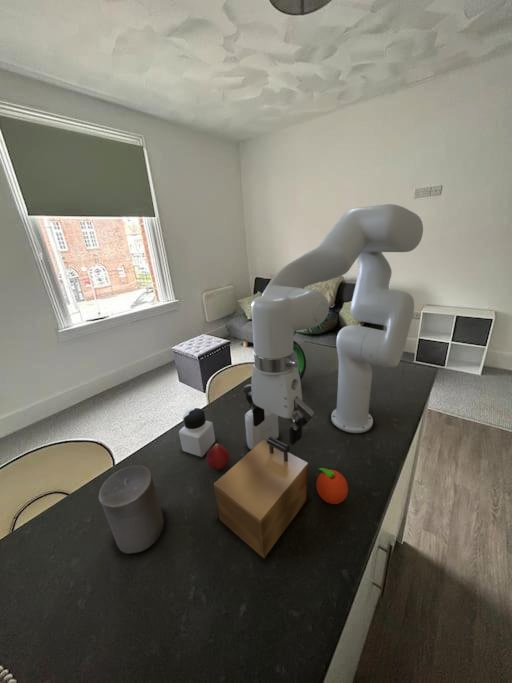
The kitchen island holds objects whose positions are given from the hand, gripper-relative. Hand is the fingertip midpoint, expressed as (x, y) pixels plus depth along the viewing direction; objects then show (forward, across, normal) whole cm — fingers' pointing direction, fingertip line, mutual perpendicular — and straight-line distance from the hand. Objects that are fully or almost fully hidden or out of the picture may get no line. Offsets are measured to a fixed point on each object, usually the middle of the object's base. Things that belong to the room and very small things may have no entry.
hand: (276, 431), depth 60 cm
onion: (+18, +17, +4) cm, 25 cm away
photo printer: (+18, +14, -11) cm, 25 cm away
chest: (+18, 0, +6) cm, 19 cm away
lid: (+8, 0, +5) cm, 10 cm away
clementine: (+18, -10, -6) cm, 21 cm away
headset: (+18, +25, -38) cm, 49 cm away
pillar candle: (+18, +18, +26) cm, 36 cm away
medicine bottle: (+18, +28, +2) cm, 33 cm away
